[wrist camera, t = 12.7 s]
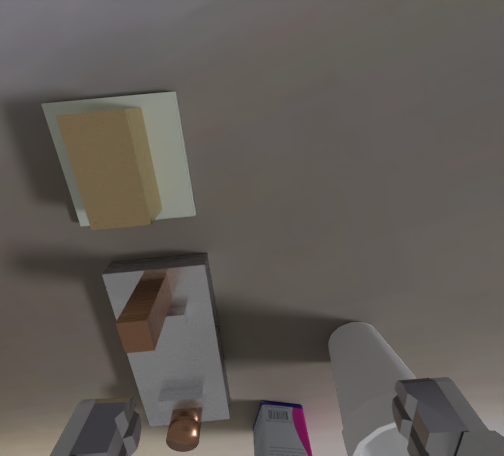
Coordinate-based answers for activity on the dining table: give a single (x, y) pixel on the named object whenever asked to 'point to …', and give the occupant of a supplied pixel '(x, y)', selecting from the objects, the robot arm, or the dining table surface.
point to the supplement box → (280, 430)
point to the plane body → (171, 341)
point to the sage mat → (160, 142)
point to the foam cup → (367, 390)
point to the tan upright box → (112, 167)
